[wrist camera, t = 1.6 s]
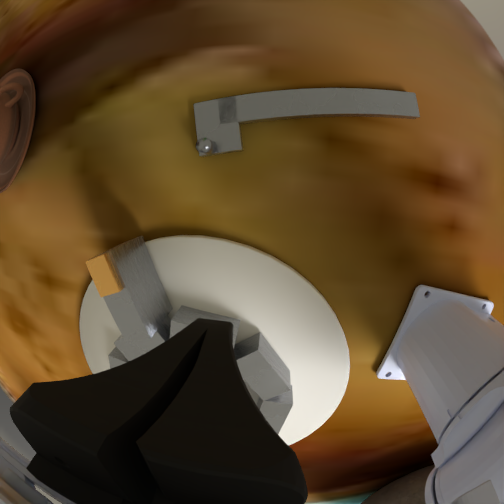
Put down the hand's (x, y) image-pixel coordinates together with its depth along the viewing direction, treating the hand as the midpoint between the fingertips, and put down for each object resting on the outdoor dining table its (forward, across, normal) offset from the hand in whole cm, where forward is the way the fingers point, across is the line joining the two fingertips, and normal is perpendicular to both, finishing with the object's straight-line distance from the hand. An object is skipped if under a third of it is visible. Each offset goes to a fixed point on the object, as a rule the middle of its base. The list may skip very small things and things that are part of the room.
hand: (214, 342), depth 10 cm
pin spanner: (+8, -4, -10) cm, 13 cm away
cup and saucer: (+8, +23, -11) cm, 27 cm away
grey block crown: (+6, +2, +7) cm, 9 cm away
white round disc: (+7, +2, +9) cm, 12 cm away
